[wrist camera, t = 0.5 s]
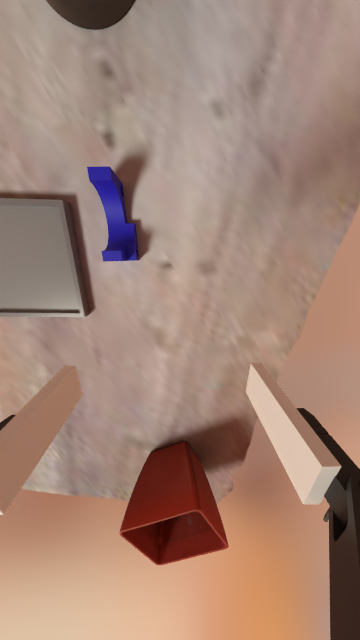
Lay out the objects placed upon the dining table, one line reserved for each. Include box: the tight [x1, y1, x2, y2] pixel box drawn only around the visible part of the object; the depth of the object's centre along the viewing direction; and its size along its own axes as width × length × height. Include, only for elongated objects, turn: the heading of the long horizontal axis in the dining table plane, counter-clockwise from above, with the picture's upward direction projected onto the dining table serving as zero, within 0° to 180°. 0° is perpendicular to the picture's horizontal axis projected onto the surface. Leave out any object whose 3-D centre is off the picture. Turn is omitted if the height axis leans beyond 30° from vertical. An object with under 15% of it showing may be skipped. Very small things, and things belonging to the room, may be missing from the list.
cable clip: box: [87, 167, 139, 261], centre depth 28 cm, size 12×4×6 cm, turn 1°
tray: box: [0, 198, 89, 317], centre depth 31 cm, size 20×20×2 cm
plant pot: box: [119, 441, 228, 565], centre depth 46 cm, size 19×19×17 cm
